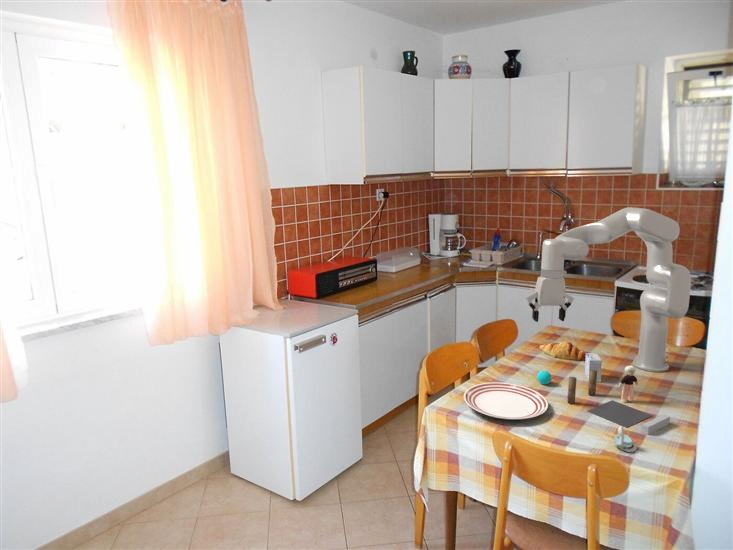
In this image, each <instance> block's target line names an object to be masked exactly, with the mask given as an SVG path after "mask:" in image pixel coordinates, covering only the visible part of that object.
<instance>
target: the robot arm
mask: <svg viewBox="0 0 733 550" xmlns="http://www.w3.org/2000/svg"><path fill="white" fill-rule="evenodd" d="M630 232H634V233H635V235H636V236H637V237H638V238H640V239H641V240H642V241H643V243H644V244H645V246H646V249H647V254H646V255H647V256H646V271H645V272H646V273H645V275H646V276H645V277H646V281H647V282H648V283H649V284H650V285H654V286H656V287H649V288H646V289H645V290H643V292H642V293H641V294H640V297H639V298H640V299H639V304H640V306H639V307H640V314H641V315H640V317H641V320H640V331H639V343H638V353H637V358H635V359H634V360H633V362H632V364H633V367H635V368H636V369H637V368H638V369H640V370H643V371H648V372H654V373H659V372H667V371H668V370H669V369H670V366H669V364H668V363H667V362H666V360H667V359H668V358H670V354H669V353H668V352H667V342H668V336H669V335H668V334H669V320H668V318H670V319H675V320H677V319H681V318H683V317H684V316H685V315H686V314H687V312H688V310H689V306H690V305H689V304H690V296H691V287H692V286H691V285H692V276H691V272H690V271H689V269H688V268H687V267H686V266H684V265H682V264H678V263H674V262H673V261H674V260H673V255H674V254H673V253H674V251H673V244H672V242H673V241H675V240H676V239H677V238H678V237H679V236H680V232H681V231H680V225H679V224H678V222H677V221H676V220H674V219H672V218H670V217H668V216H665V215H663V214H661V213H659V212H656V211H654V210H652V209H649V208H642V207H633V206H632V207H631V206H630V207H629V206H628V207H624V208H622V209H620V210H618V211H616V212H614V213H612V214H610V215H608V216H606V217H604V218H602V219H600V220H598V221H596V222H591V223H588V224H584V225H580V226H577V227H574V228H571V229H569V230H567V231H565V232H563V233H561V234H559V235H557V236H556V237H555V238H547V239H544V240H543V242H542V250H541V263H540V264H541V266H540V276H538V277H537V280H536V283H535V289H534V293H533V294H531V295H529V296H528V297H526V298H525V300H526V302H527V304H528V306H529V307H530V308H531V309H532V314H531V317H532V321H534V322H535V323H538V322H539V317H540V316H539V314H540V311H539V309H540V308H541V307H547V306H548V307H549V306H550V307H552V306H558V307H560V308H559V310H558V319H559V320H560V321H562V322H564V321H565V319H566V315H567V314H566V313H567V310H568V308H569V307H571V305H572V303H573V302H574V300H575V298H574V297H573V296H571V295H570V294H567V293H566V290H567V289H566V281H565V278H564V276H565V275H567V273H568V272H567V270H564V266H565V260H570V261H580V260H583V259H585V258H586V257H587V256H588V254H589V251H590V249H589V245H600V244H601V245H602V244H607V243H611V242H613V241H614V240H616V239H618V238H620V237H622V236H624V235H626V234H629V233H630ZM657 287H658V288H657ZM659 287H660V288H659ZM662 288H664V289H662ZM566 299H567V300H566ZM533 302H534V303H533Z"/></svg>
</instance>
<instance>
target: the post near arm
mask: <svg viewBox="0 0 733 550" xmlns="http://www.w3.org/2000/svg"><path fill="white" fill-rule="evenodd" d="M596 381H597V370H595V369H590V374H589V381H588V389H587V390H588V393H587V396H590V397H596V394H597V393H596V392H597V382H596Z"/></svg>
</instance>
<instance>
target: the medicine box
mask: <svg viewBox="0 0 733 550" xmlns="http://www.w3.org/2000/svg"><path fill="white" fill-rule="evenodd" d="M585 353H586V357H585V359H584V360H585V361H584V362H585V363H584V375H585V378H586V379H587V381H588V382H589V374H590V369H595V370H597V381H596V383H601V382H602V367H603V365H602V364H603V361H602V359H601V357H600V355H599V354H598V353H595V352H594V353H593V352H590V353H589V352H588V353H587V352H585Z"/></svg>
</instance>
